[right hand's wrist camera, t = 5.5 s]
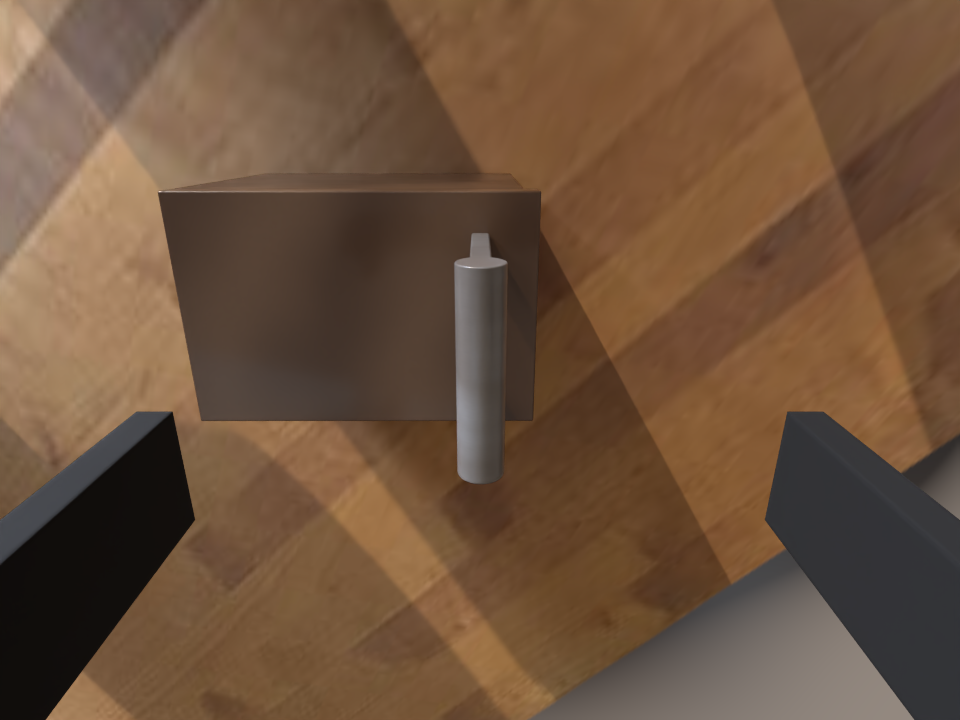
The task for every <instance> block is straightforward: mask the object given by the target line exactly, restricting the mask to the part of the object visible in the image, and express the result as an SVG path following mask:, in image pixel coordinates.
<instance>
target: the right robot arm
mask: <svg viewBox="0 0 960 720" xmlns="http://www.w3.org/2000/svg"><path fill="white" fill-rule="evenodd" d="M194 521H195V517H194V512H193V507H192V503H191V498H190V493H189V488H188V484H187V479H186V474H185V469H184V464H183V460H182V455H181V450H180V445H179V440H178V436H177V431H176V426H175V421H174V416H173V412H136V413H134V414H133V415H132V416H131V417H129V418H128V419H127V420H126V421H124V422H123V423H122V424H121V425H119V426H118V427H117V428H116V429H114V430H113V431H112V432H111V433H109V434H108V435H107V436H105V437H104V438H103V439H102V440H100V441H99V442H98V443H97V444H95V445H94V446H93V447H92V448H90V449H89V450H88V451H87V452H85V453H84V454H83V455H82V456H80V457H79V458H78V459H77V460H75V461H74V462H73V463H72V464H70V465H69V466H68V467H66V468H65V469H64V470H63V471H61V472H60V473H59V474H58V475H56V476H55V477H54V478H53V479H51V480H50V481H49V482H48V483H46V484H45V485H44V486H43V487H41V488H40V489H39V490H38V491H36V492H35V493H34V494H33V495H31V496H30V497H29V498H27V499H26V500H25V501H24V502H22V503H21V504H20V505H19V506H17V507H16V508H15V509H14V510H12V511H11V512H10V513H9V514H7V515H6V516H5V517H4V518H2V519H1V520H0V720H46V718H47V717H48V716H49V714H50V713H51V712H52V710H53V709H54V708H55V706H56V705H57V704H58V702H59V701H60V700H61V698H62V697H63V696H64V694H65V693H66V692H67V690H68V689H69V688H70V686H71V685H72V684H73V682H74V681H75V680H76V678H77V677H78V676H79V674H80V673H81V672H82V670H83V669H84V668H85V666H86V665H87V664H88V662H89V661H90V660H91V658H92V657H93V656H94V654H95V653H96V652H97V650H98V649H99V648H100V646H101V645H102V644H103V642H104V641H105V640H106V638H107V637H108V636H109V634H110V633H111V632H112V630H113V629H114V628H115V626H116V625H117V624H118V622H119V621H120V620H121V618H122V617H123V616H124V614H125V613H126V612H127V610H128V609H129V607H130V606H131V605H132V603H133V602H134V601H135V599H136V598H137V597H138V595H139V594H140V593H141V591H142V590H143V589H144V587H145V586H146V585H147V583H148V582H149V581H150V579H151V578H152V577H153V575H154V574H155V573H156V571H157V570H158V569H159V567H160V566H161V565H162V563H163V562H164V561H165V559H166V558H167V557H168V555H169V554H170V553H171V551H172V550H173V549H174V547H175V546H176V545H177V543H178V542H179V541H180V539H181V538H182V537H183V535H184V534H185V533H186V531H187V530H188V529H189V527H190V526H191V525H192V523H193V522H194ZM765 521H766V522H767V523H768V525H769V526H770V527H771V529H772V530H773V531H774V533H775V534H776V535H777V537H778V538H779V539H780V541H781V542H782V543H783V545H784V546H785V547H786V549H787V550H788V551H789V553H790V554H791V555H792V557H793V558H794V559H795V561H796V562H797V563H798V565H799V566H800V567H801V569H802V570H803V571H804V573H805V574H806V575H807V577H808V578H809V579H810V581H811V582H812V583H813V585H814V586H815V587H816V589H817V590H818V591H819V593H820V594H821V595H822V597H823V598H824V599H825V601H826V602H827V603H828V605H829V606H830V607H831V609H832V610H833V612H834V613H835V614H836V616H837V617H838V618H839V620H840V621H841V622H842V623H843V625H844V626H845V628H846V629H847V630H848V632H849V633H850V634H851V636H852V637H853V638H854V640H855V641H856V642H857V644H858V645H859V646H860V648H861V649H862V650H863V652H864V653H865V654H866V656H867V657H868V658H869V660H870V661H871V662H872V664H873V665H874V666H875V668H876V669H877V670H878V672H879V673H880V674H881V676H882V677H883V678H884V680H885V681H886V682H887V684H888V685H889V686H890V688H891V689H892V690H893V692H894V693H895V694H896V696H897V697H898V698H899V700H900V701H901V702H902V704H903V705H904V706H905V708H906V709H907V710H908V712H909V713H910V714H911V716H912V717H913V718H914V720H960V520H959V519H958V518H956V517H955V516H954V515H953V514H951V513H950V512H949V511H948V510H946V509H945V508H944V507H943V506H941V505H940V504H939V503H938V502H936V501H935V500H934V499H933V498H931V497H930V496H929V495H927V494H926V493H925V492H924V491H922V490H921V489H920V488H919V487H917V486H916V485H915V484H914V483H912V482H911V481H910V480H909V479H907V478H906V477H905V476H904V475H902V474H901V473H900V472H899V471H897V470H896V469H895V468H894V467H892V466H891V465H890V464H888V463H887V462H886V461H885V460H883V459H882V458H881V457H880V456H878V455H877V454H876V453H875V452H873V451H872V450H871V449H870V448H868V447H867V446H866V445H865V444H863V443H862V442H861V441H860V440H858V439H857V438H856V437H855V436H853V435H852V434H851V433H849V432H848V431H847V430H846V429H844V428H843V427H842V426H841V425H839V424H838V423H837V422H836V421H834V420H833V419H832V418H831V417H829V416H828V415H827V414H826V413H824V412H787V416H786V421H785V426H784V431H783V436H782V440H781V445H780V450H779V455H778V460H777V464H776V469H775V474H774V479H773V484H772V488H771V493H770V498H769V503H768V507H767V512H766V517H765Z"/></svg>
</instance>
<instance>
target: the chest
mask: <svg viewBox="0 0 960 720" xmlns="http://www.w3.org/2000/svg"><path fill="white" fill-rule="evenodd" d="M175 189H523V187H522V186H521V185H520V184H519V183H518V182H517V181H516V180H515V178H514V177H513V176H512V175H511V174H261V175H255V176H249V177H243V178H237V179H231V180H224V181H218V182H212V183H206V184H200V185H194V186H188V187H182V188H175Z"/></svg>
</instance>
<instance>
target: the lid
mask: <svg viewBox="0 0 960 720" xmlns="http://www.w3.org/2000/svg"><path fill="white" fill-rule="evenodd" d="M158 196H159V201H160V206H161V211H162V217H163V222H164V227H165V232H166V238H167V243H168V248H169V253H170V259H171V264H172V269H173V274H174V280H175V285H176V290H177V296H178V301H179V306H180V311H181V317H182V322H183V327H184V332H185V338H186V343H187V348H188V353H189V359H190V364H191V369H192V374H193V380H194V385H195V390H196V395H197V401H198V406H199V411H200V416H201V420H202V421H457V468H458V474H459V476H460V477H461V478H462V479H463V480H464V481H467V482H469V483H473V484H488V483H493V482H495V481H497V480H499V479H500V478H501V477H502V476H503V474H504V450H505V421H532V420H533V405H534V377H535V350H536V322H537V295H538V267H539V239H540V212H541V191H540V190H538V189H169V190H163V191H158Z"/></svg>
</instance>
